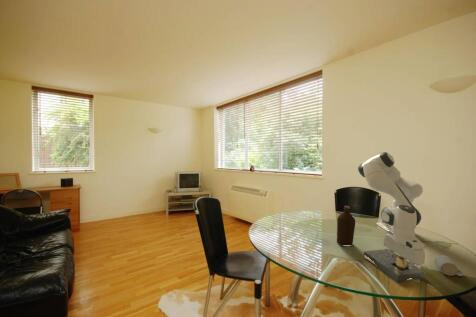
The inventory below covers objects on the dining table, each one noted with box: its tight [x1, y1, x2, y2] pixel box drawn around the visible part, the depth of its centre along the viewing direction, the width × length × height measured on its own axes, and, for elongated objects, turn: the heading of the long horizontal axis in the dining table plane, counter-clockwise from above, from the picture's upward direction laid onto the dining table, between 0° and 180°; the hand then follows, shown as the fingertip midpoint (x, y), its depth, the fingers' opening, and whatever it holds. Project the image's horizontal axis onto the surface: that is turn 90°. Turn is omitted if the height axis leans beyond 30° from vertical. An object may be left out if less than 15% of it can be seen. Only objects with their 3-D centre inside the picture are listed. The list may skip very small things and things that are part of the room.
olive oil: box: [336, 205, 356, 246], centre depth 145 cm, size 11×11×25 cm
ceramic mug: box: [433, 254, 464, 277], centre depth 116 cm, size 11×8×8 cm
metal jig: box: [363, 248, 426, 283], centre depth 121 cm, size 22×16×4 cm
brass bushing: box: [395, 255, 408, 271], centre depth 116 cm, size 4×4×8 cm
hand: (400, 262), depth 116 cm, fingers open, 8 cm apart
